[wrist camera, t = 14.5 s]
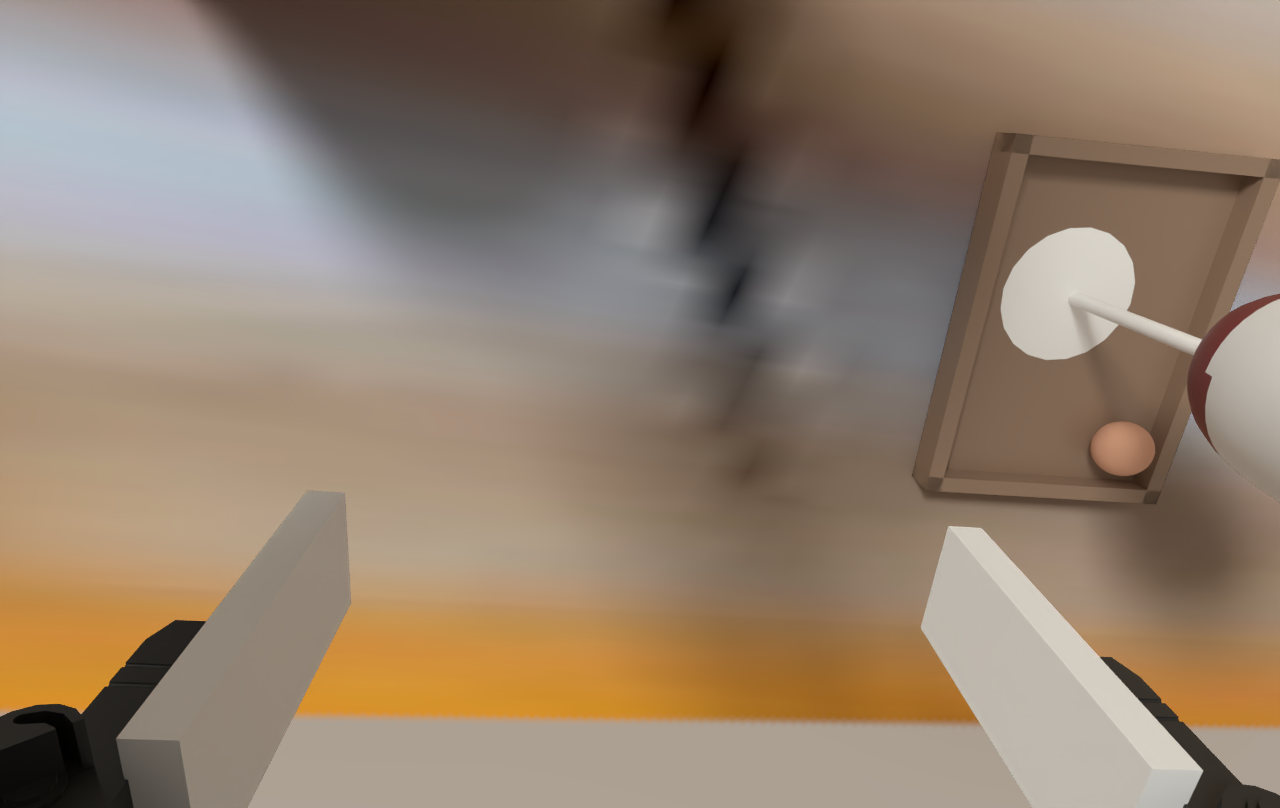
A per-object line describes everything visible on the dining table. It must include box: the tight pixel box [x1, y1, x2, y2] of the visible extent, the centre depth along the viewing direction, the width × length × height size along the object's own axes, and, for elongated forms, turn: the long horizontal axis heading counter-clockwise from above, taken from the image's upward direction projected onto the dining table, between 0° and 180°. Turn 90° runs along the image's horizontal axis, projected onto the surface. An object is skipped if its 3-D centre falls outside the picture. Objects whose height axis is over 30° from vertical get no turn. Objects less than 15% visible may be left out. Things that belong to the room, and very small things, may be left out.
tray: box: [912, 133, 1280, 504], centre depth 47 cm, size 22×16×2 cm
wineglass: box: [1000, 227, 1280, 503], centre depth 36 cm, size 9×10×22 cm
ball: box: [1090, 421, 1155, 476], centre depth 48 cm, size 4×4×4 cm
